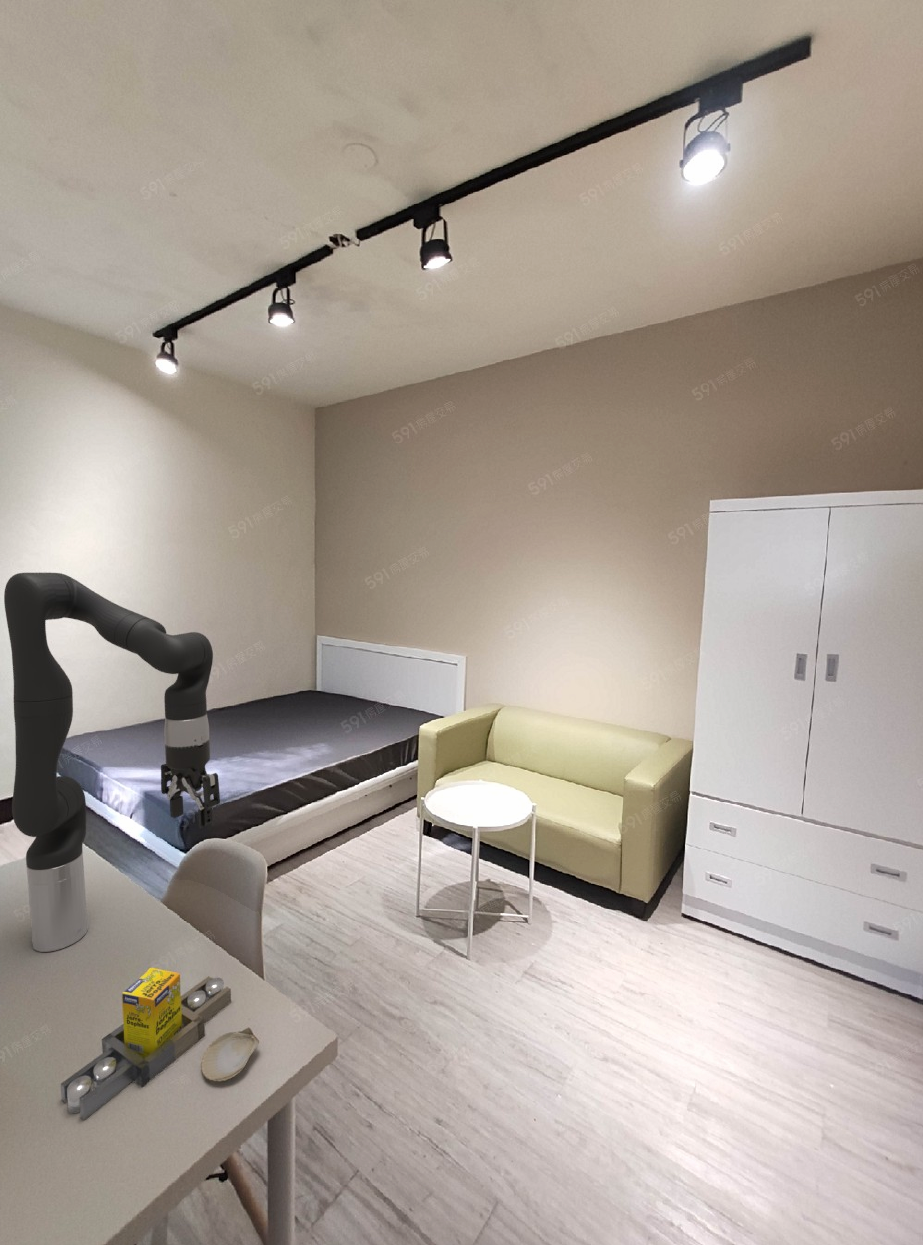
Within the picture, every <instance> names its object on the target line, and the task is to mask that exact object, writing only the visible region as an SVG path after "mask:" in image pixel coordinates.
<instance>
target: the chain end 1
mask: <svg viewBox="0 0 923 1245" xmlns="http://www.w3.org/2000/svg"><path fill="white" fill-rule="evenodd" d="M101 1045H102V1046H101V1048H102V1053H101V1054H99V1055H98V1056H97V1057H96V1058H94V1059H93V1060H92V1061H90V1062H89V1063H87V1064H86V1065H85V1066H83V1067H82V1068H81V1069H79V1070H77V1072H75V1073H73V1074H72V1075H70V1076H69V1077H68V1078H67V1079H65V1080H63V1082H61V1083H60V1094H61V1101H62V1102H64V1103H65V1104H66V1103H67V1106H68V1107H67V1108H68V1112H69V1113H70V1114H79V1115H80V1116H79V1117H80V1118H81V1119H82V1120H83V1121H86V1119H88V1118H89V1117H90V1116H91V1115H92V1114H94V1113H95V1112H97V1110H99V1109H100V1108H101V1107H103V1106H104V1105H105V1104H106V1103H108V1102H109V1101H110V1100H111V1099H112V1098H114V1097H115V1096H116V1095H117V1094H119V1093H120V1092H121V1091H122V1090H123V1089H125V1088H126V1087H127V1086H128V1085H130V1084H131V1083H132V1082H135V1084H137V1085H138V1086H140V1087H141V1088H143V1087H144V1086H146V1085H147V1084H148V1083H149V1082H151V1081H152V1080H153V1079H154V1078H155V1077H157V1075H159V1074H160V1073H162V1072H163V1070H165V1069H166V1068H167V1067H169V1066H170V1065H171V1064H172V1063H174V1061H176V1060H175V1047H174V1042H173V1041H172V1040H170V1039H169V1040H168V1041H167V1042H165V1043H164V1044H163V1045H161V1046H160V1047H159V1048H158V1049H156V1050H155V1051H154V1052H152V1053H151V1054H150V1055H149V1056H147V1057H146V1058H145V1059H144V1058H142V1057H141V1056H140V1055H138V1054H137V1053H136V1052H134V1051H133V1050H131V1049H130V1048H129V1047H127V1046H126V1045H125V1044H124V1024H123V1023H122V1024H121V1025H120V1026H118V1027H117V1028H116V1029H114V1030H113V1031H111V1032H109V1033H108V1034H107V1035H106V1036H104V1037H103V1038H101ZM92 1083H94V1085H93V1086H94V1089H92Z"/></svg>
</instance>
